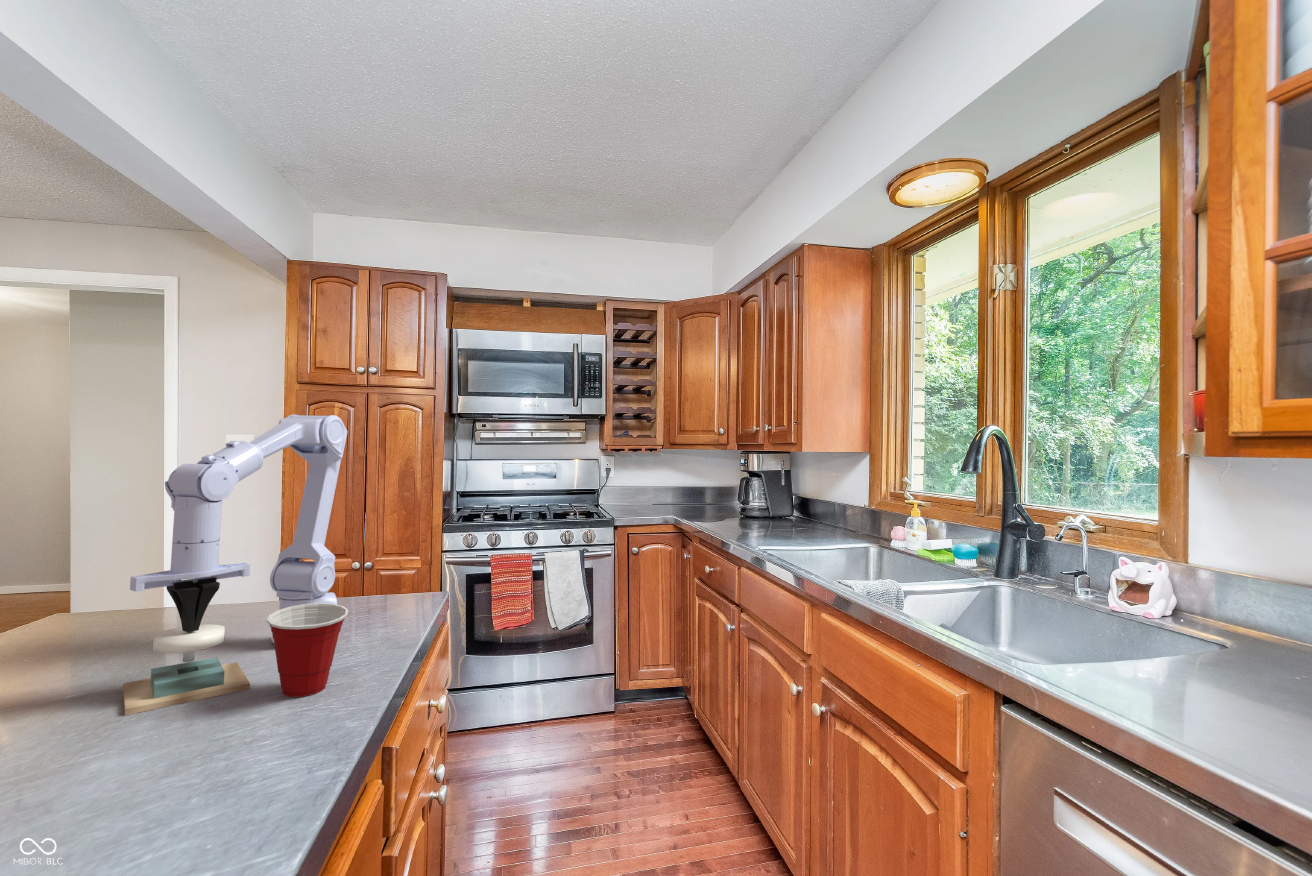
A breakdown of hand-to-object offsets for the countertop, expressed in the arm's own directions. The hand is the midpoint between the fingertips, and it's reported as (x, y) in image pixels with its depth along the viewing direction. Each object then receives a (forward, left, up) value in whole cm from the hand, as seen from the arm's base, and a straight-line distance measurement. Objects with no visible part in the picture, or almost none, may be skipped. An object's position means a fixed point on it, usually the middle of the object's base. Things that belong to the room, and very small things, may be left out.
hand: (190, 630), depth 86 cm
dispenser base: (0, 0, -9) cm, 9 cm away
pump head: (0, 0, -5) cm, 5 cm away
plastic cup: (-13, +12, -9) cm, 20 cm away
